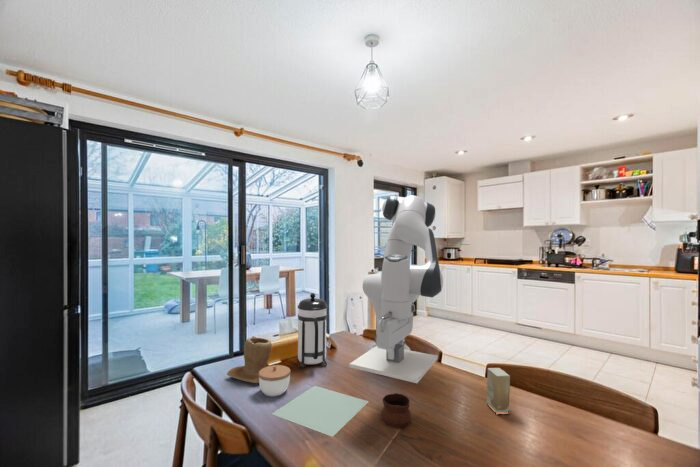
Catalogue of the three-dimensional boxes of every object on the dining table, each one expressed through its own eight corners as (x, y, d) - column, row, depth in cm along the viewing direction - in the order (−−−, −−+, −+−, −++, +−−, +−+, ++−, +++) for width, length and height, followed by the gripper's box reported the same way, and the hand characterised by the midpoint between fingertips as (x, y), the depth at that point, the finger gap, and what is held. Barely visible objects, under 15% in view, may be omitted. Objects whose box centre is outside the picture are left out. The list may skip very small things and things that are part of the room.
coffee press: (285, 365, 136) (286, 294, 137) (310, 354, 150) (311, 289, 150) (316, 375, 126) (317, 298, 127) (340, 363, 140) (341, 293, 140)
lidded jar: (282, 402, 105) (283, 373, 106) (252, 399, 108) (252, 371, 108) (294, 388, 116) (295, 361, 116) (267, 385, 118) (267, 359, 118)
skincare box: (486, 405, 105) (486, 367, 105) (499, 404, 106) (499, 367, 106) (496, 415, 99) (496, 375, 99) (510, 415, 99) (510, 375, 99)
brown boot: (277, 376, 126) (278, 337, 126) (255, 388, 115) (256, 346, 115) (249, 368, 133) (249, 332, 133) (225, 379, 122) (226, 339, 123)
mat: (314, 387, 117) (314, 385, 117) (369, 402, 106) (369, 401, 106) (271, 415, 98) (271, 414, 98) (332, 438, 87) (332, 436, 87)
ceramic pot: (426, 445, 84) (426, 418, 85) (360, 435, 89) (360, 409, 89) (427, 411, 102) (427, 388, 102) (372, 404, 106) (372, 383, 107)
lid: (378, 347, 110) (378, 332, 110) (437, 358, 100) (437, 342, 100) (349, 367, 93) (349, 349, 93) (417, 383, 83) (417, 363, 83)
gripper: (392, 317, 86) (391, 370, 86) (416, 304, 104) (416, 348, 103) (370, 314, 89) (370, 365, 89) (398, 302, 107) (397, 344, 107)
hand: (395, 355), depth 96 cm, fingers closed on lid, 4 cm apart
